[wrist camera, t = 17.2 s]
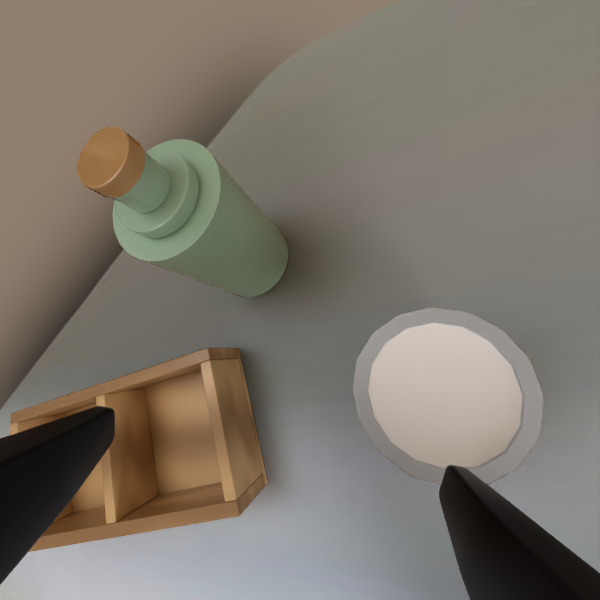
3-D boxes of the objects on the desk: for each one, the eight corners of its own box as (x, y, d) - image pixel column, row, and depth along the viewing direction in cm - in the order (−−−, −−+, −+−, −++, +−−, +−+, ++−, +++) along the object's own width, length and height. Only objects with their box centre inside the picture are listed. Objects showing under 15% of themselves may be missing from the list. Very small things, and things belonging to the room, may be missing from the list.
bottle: (273, 307, 21) (130, 252, 9) (206, 285, 23) (20, 219, 11) (299, 229, 22) (195, 83, 10) (231, 215, 24) (78, 80, 12)
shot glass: (348, 403, 18) (328, 434, 12) (383, 307, 19) (383, 285, 12) (459, 456, 16) (512, 530, 10) (496, 345, 17) (572, 343, 10)
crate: (268, 483, 19) (239, 516, 15) (71, 521, 23) (10, 555, 19) (238, 347, 21) (207, 347, 18) (65, 404, 25) (10, 413, 22)
